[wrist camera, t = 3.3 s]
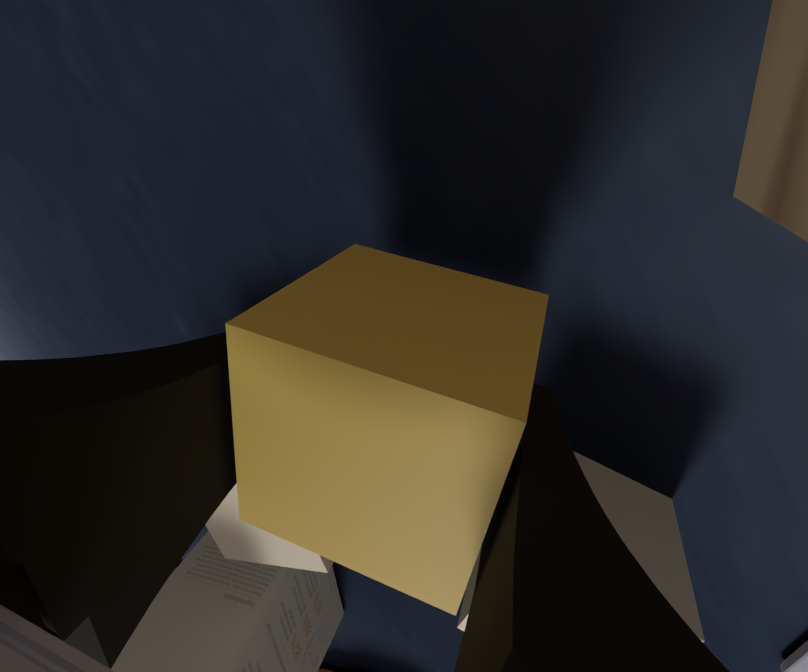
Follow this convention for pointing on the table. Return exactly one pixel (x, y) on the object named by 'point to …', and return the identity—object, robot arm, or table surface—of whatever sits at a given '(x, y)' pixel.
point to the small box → (235, 618)
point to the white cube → (257, 541)
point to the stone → (324, 670)
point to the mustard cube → (383, 414)
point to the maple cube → (779, 123)
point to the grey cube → (635, 538)
